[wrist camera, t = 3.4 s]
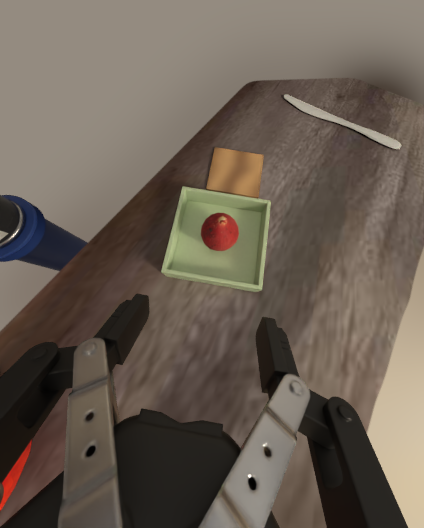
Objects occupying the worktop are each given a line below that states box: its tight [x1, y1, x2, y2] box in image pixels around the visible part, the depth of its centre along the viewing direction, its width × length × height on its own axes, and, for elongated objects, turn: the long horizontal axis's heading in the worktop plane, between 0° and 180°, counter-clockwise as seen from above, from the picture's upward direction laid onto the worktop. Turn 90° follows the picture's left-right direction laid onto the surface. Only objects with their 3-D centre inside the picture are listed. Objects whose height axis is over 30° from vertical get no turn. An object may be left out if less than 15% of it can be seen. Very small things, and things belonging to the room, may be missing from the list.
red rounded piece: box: [201, 213, 239, 251], centre depth 27 cm, size 6×6×8 cm
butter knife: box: [284, 94, 401, 149], centre depth 39 cm, size 1×27×3 cm
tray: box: [161, 186, 271, 292], centre depth 30 cm, size 15×15×3 cm
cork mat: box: [206, 147, 264, 199], centre depth 35 cm, size 10×10×1 cm
